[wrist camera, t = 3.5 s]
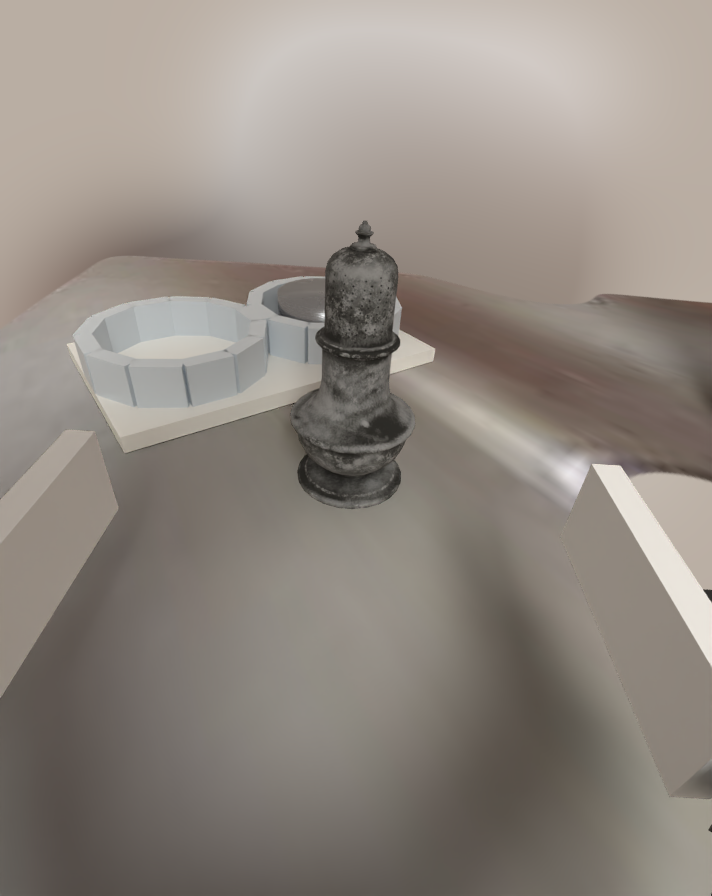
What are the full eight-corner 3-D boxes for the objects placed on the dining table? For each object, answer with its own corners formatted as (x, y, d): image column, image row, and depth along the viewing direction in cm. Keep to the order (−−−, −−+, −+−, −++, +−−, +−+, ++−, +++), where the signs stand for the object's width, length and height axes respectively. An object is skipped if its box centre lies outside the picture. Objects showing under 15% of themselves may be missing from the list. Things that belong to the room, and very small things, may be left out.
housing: (335, 306, 45) (336, 266, 43) (433, 361, 36) (440, 315, 34) (70, 357, 33) (55, 307, 31) (124, 453, 25) (108, 394, 23)
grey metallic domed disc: (336, 310, 41) (337, 274, 39) (386, 339, 37) (390, 299, 35) (262, 324, 38) (260, 285, 36) (309, 358, 33) (309, 316, 31)
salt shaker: (310, 433, 28) (310, 200, 21) (412, 450, 27) (449, 214, 20) (275, 500, 23) (261, 228, 16) (398, 523, 22) (439, 248, 15)
